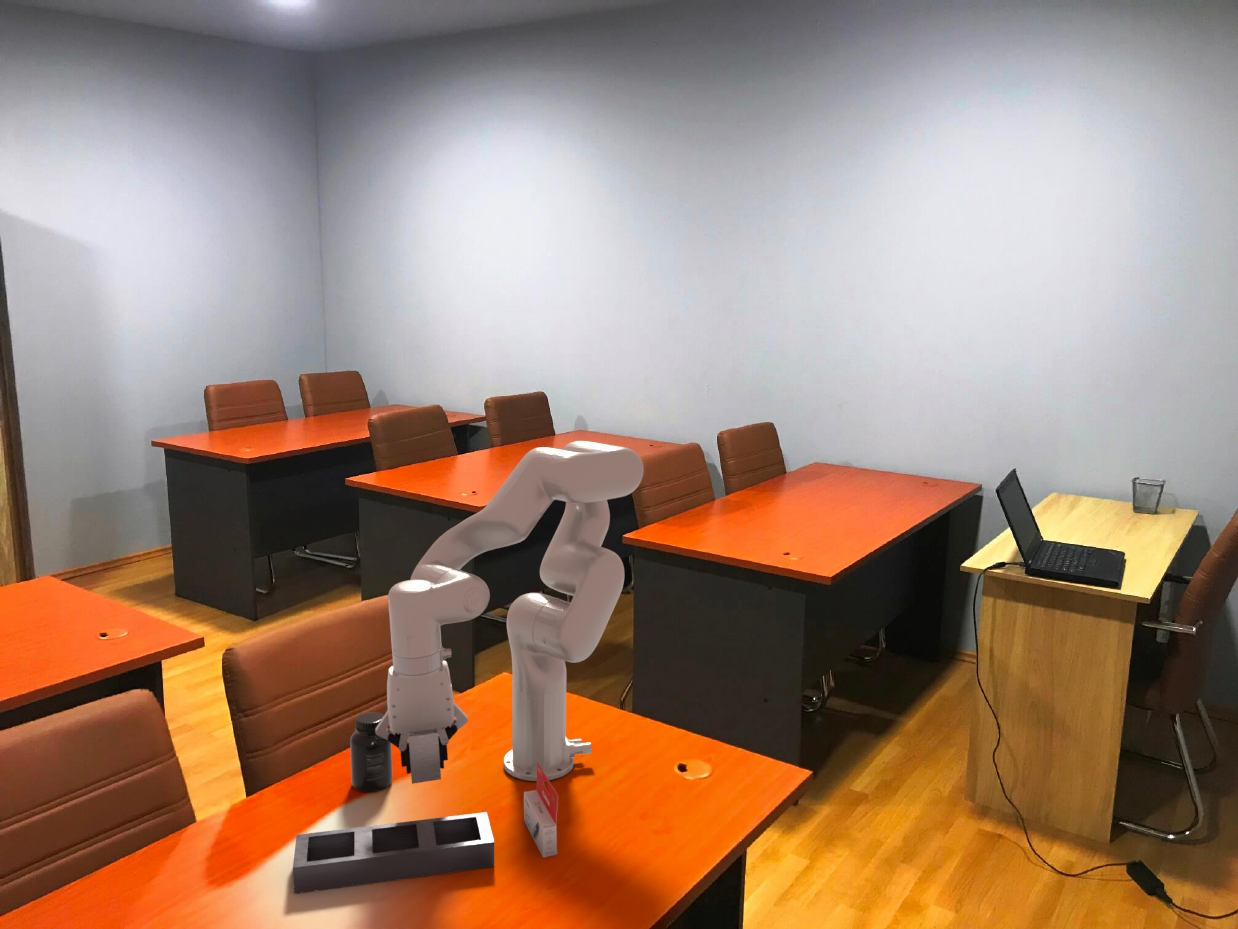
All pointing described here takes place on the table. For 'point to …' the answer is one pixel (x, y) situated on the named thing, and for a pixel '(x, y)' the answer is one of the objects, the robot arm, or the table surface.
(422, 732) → the light grey block
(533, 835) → the ink cartridge box
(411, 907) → the table surface
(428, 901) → the table surface
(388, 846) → the dark grey compartment tray
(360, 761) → the supplement bottle
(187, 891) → the table surface
